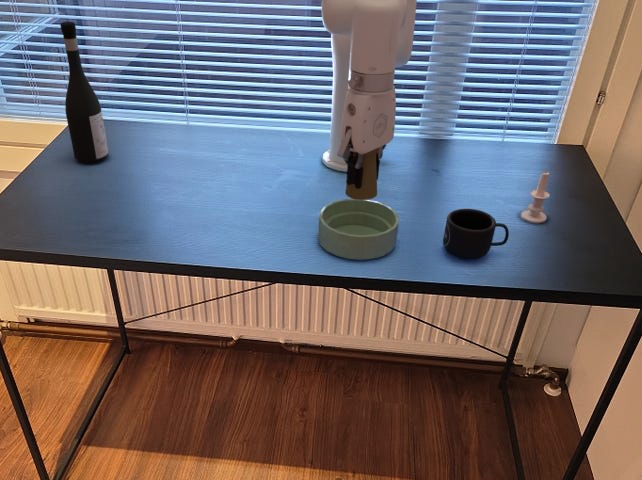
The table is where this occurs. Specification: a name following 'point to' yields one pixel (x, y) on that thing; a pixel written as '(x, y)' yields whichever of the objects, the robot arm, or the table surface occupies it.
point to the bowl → (358, 229)
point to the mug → (470, 234)
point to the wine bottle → (82, 107)
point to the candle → (537, 202)
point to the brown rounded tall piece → (365, 178)
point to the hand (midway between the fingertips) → (362, 181)
